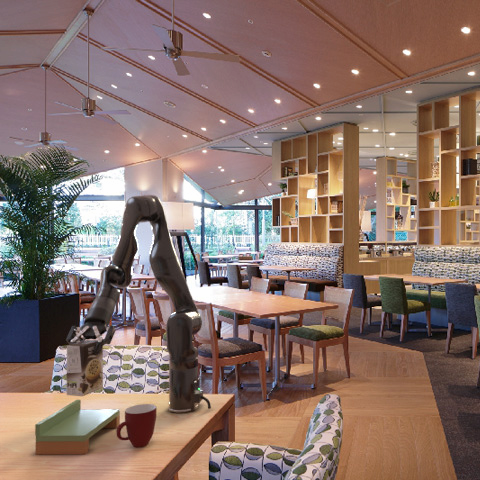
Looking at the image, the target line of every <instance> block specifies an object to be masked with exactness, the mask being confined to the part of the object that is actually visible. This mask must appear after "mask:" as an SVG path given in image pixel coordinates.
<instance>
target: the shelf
mask: <svg viewBox="0 0 480 480" xmlns="http://www.w3.org/2000/svg"><path fill="white" fill-rule="evenodd" d="M81 405H82V404H81V399H76V400H74V401H72V402H70V403H69V404H67V405H66V406H64V407H62V408H60V409H59V410H57V411H55V412H54V413H52V414H51V415H49V416H47V417H45V418H43V419H42V420H40V421H38V422H37V423H35V425H34V435H35V455H86V454H87V453H88V452H90V450H89V449H90V438H92V437H93V436H94V435H95V434H96V433H98V432H99V431H100V430H102V429H117V428H118V426H119V425H120V424H121V423H120V421H121V420H120V419H121V410H120V409H117V408H116V409H115V408H113V409H110V408H107V409H97V408H96V409H88V408H87V409H85V408H84V409H82V408H81Z"/></svg>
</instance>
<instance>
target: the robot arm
mask: <svg viewBox="0 0 480 480" xmlns="http://www.w3.org/2000/svg"><path fill="white" fill-rule="evenodd" d="M124 205H125V206H124V209H123V215H122V221H121V227H120V233H119V239H118V242H117V244H116V248H115V250H114V253H113V255H112V259H111V262H112V264H107V265H105V266H104V267H103V268H102V270H101V271H100V279H99V282H100V283H99V287H98V288H99V289H98V291H97V294H96V296H95V297H94V299H93V301H92V303H91V305H90V306H89V309H88V311H87V314H86V315H85V318H84V320H83V323H82V325H81V326H76V325H72V326H71V328H70V330H69V332H68V334H67V337H66V339H65V341H66V342H67V343H68V345H70V344H74V343H78V342H82V341H86V340H98V343H96V346H95V348H94V351H93V354H94V355H95V356H97V355H98V354H99V353H100V352H101V349H102V347H103V348H104V346H105V345H110V344H111V343H112V342H113V339H114V336H115V333H116V328H115V326H114V325H110V323H111V320H112V317H113V315H114V313H115V309H116V306H117V303H118V302H119V298H120V296H121V292H120V289H126V288H128V287H130V285H131V283H132V281H133V265H134V262H135V260H136V257H137V255H138V251H139V243H138V239H137V237H136V230H137V227H138V226H139V224H142V223H149V224H150V227H151V231H152V236H153V237H152V244H151V246H150V247H151V248H150V251H149V255H148V256H149V258H148V261H149V265H150V269H151V271H152V274H153V277H154V280H155V281H156V283H157V284H158V285H159V287H161V289H162V290H163V291H164V292H165V294H166V295H167V296H168V297H169V299H170V301H171V303H172V305H173V308H174V312H173V313H171V315H170V316H168V318H167V320H166V325H165V335H166V336H165V339H166V341H165V342H166V350H167V353H168V358H169V359H168V411H169V412H170V413H177V414H180V413H188V412H195V411H196V410H197V409H198V408H199V407H200V405H201V404H200V403H201V402H202V401H205V403H206V404H207V409H208V410H210V409H212V407H211V402H210V400H209V399H208V398H207V397H206V396H204V390H203V389H201V378H200V377H199V350H198V347H196V346H194V341H193V336H194V335H196V334H198V333H199V332H200V331H201V329H202V327H203V319H202V315H201V313H200V311H199V308H198V307H197V305H196V302H195V301H194V299H193V296H192V294H191V292H190V288H189V286H188V283H187V280H186V278H185V277H186V276H185V274H184V271H183V268H182V264H181V261H180V259H179V256H178V254H177V251H176V249H175V245H174V242H173V238H172V235H171V233H170V229H169V225H168V220H167V215H166V212H165V208H164V204H163V203H162V200H161V199H160V198H159V197H158V196H157V195H154V194H146V195H135V196H133V195H132V196H131V197H129V198H128V199H127V201H125V204H124ZM118 288H119V289H118ZM109 325H110V326H109ZM104 334H105V335H104ZM103 335H104V338H103Z"/></svg>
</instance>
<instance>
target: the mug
mask: <svg viewBox="0 0 480 480" xmlns="http://www.w3.org/2000/svg"><path fill="white" fill-rule="evenodd" d="M156 421H157V406H156V405H155V404H154V403H153V404H152V403H141V404H135V405H132V406H128V407H127V408H125V410H124V421H123V422H121V423H120V425H119V426H118V427H117V428H116V431H115V432H116V433H115V434H116V438H117V439H119V440H120V441H129V442H130V443H131V445H132V447H135V448H142V447H146V446H148V445H149V443H150V441H151V440H152V438H153V435H154V432H155V426H156ZM124 427H125V428H126V429H125V430H126V434H127V436H125V437H123V436H122V433H121V432H122V430H123V428H124Z"/></svg>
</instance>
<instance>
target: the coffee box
mask: <svg viewBox="0 0 480 480" xmlns="http://www.w3.org/2000/svg"><path fill="white" fill-rule="evenodd" d="M96 343H98V340H97V339H86V340H85V341H82V342H78V343H74V344H70V345H69V344H67V345H66V396H72V397H85V396H87V395H90V394H92V393H96V392H97V391H99V390H102V389H103V388H104V364H103V363H104V346H103V347H102V349H101V352H100V353H99V354H98V355H97V356H95V355H94V354H93V351H94V348H95V346H96Z"/></svg>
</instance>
